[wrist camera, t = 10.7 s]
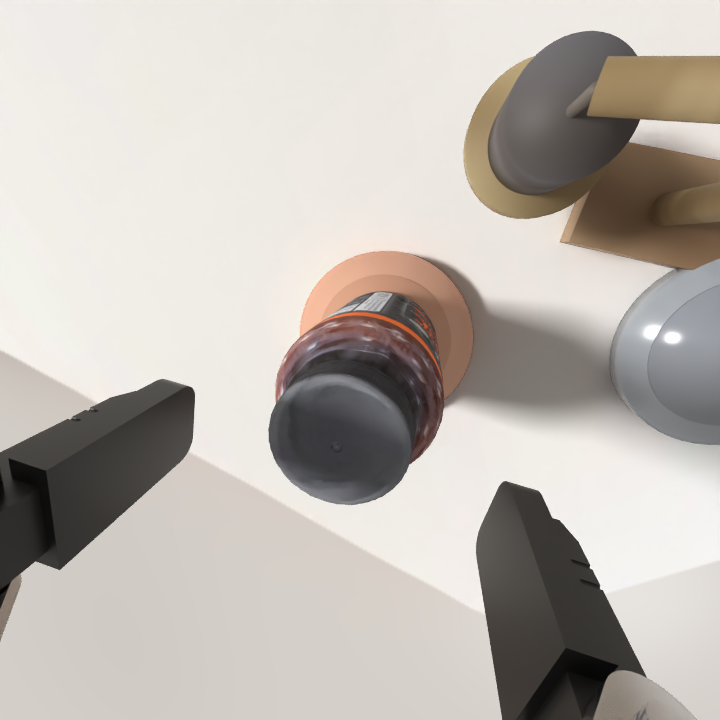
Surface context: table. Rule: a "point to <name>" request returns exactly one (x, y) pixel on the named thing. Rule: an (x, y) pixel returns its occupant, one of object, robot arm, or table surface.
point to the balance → (601, 149)
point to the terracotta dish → (410, 281)
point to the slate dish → (673, 355)
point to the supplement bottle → (358, 399)
